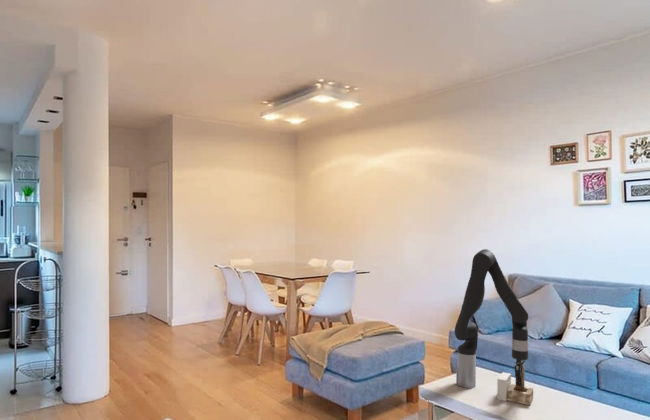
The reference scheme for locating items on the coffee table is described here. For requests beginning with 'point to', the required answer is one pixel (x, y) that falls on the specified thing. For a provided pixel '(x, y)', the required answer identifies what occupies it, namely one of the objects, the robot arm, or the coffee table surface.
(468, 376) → the robot arm
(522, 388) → the dowel
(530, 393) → the socket block
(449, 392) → the coffee table surface
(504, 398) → the wall
